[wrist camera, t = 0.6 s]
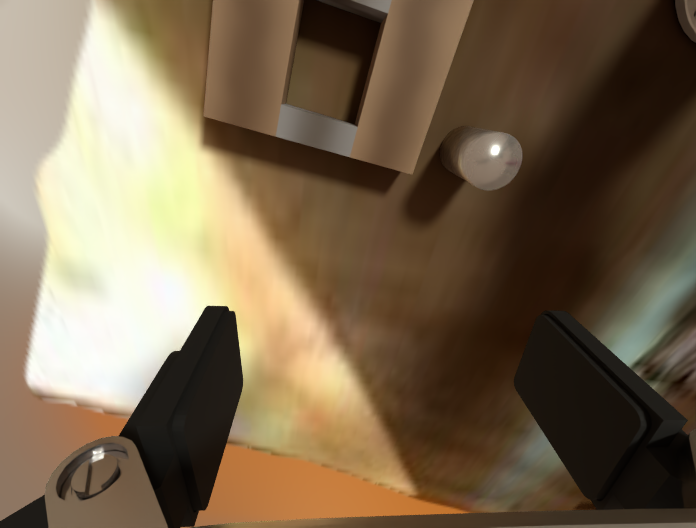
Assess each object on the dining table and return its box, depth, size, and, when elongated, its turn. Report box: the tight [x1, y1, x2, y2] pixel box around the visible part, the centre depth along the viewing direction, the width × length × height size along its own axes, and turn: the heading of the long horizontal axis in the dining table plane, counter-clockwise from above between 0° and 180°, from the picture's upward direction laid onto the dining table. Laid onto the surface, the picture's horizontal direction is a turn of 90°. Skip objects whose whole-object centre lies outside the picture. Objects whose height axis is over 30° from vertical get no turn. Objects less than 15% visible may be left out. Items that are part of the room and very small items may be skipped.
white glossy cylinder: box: [440, 126, 522, 190], centre depth 29 cm, size 4×4×7 cm
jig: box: [204, 0, 473, 174], centre depth 27 cm, size 18×13×4 cm
